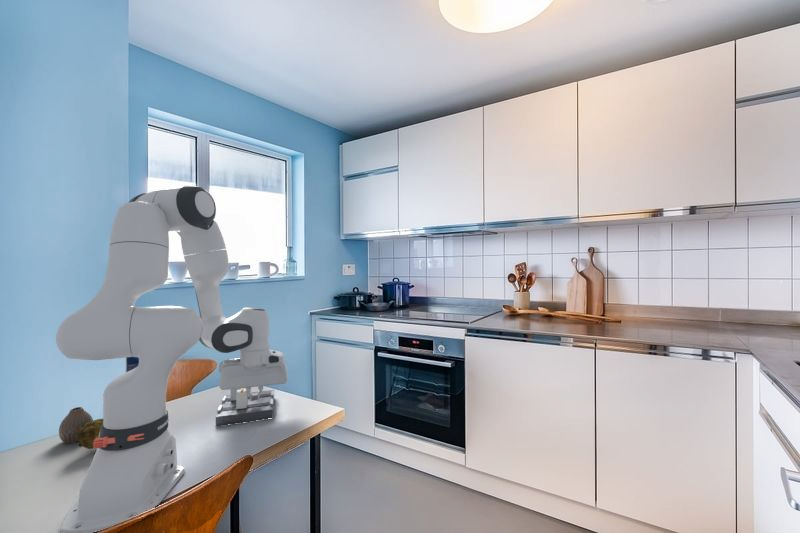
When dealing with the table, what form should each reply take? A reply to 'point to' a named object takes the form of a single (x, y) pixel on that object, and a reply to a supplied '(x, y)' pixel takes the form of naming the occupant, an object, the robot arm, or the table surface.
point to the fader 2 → (241, 399)
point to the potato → (89, 433)
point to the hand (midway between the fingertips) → (254, 399)
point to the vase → (73, 424)
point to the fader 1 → (234, 393)
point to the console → (245, 409)
